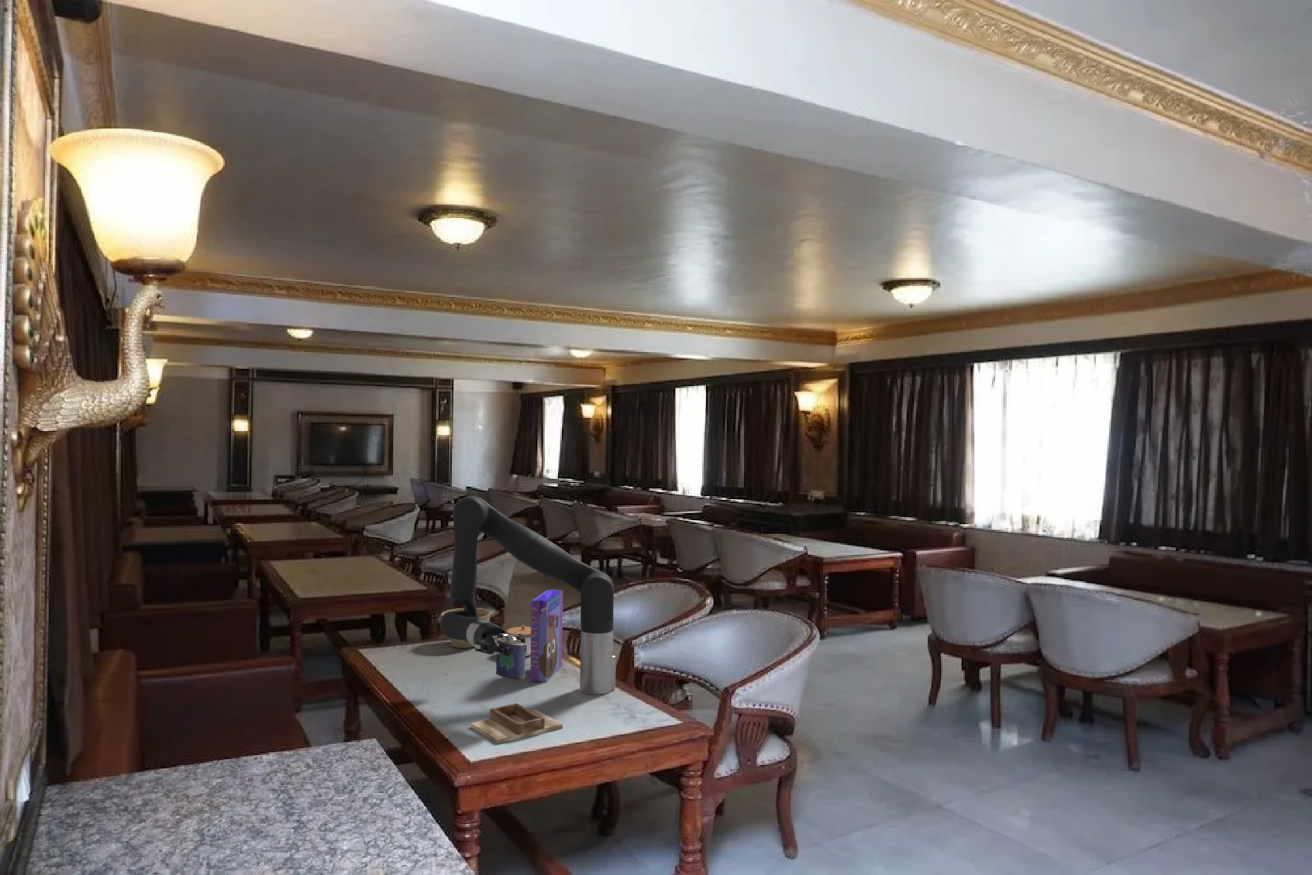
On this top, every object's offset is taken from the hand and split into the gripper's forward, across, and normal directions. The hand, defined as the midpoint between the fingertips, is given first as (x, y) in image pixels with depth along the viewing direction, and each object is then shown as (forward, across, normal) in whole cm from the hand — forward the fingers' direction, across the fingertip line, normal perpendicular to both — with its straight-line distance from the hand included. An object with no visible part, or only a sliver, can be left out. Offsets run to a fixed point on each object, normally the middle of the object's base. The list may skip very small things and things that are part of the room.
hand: (516, 650), depth 215 cm
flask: (-3, 0, +7) cm, 8 cm away
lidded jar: (-56, +33, +19) cm, 68 cm away
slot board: (+2, -1, +19) cm, 19 cm away
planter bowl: (-77, +23, +19) cm, 83 cm away
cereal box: (-33, +29, +19) cm, 48 cm away
